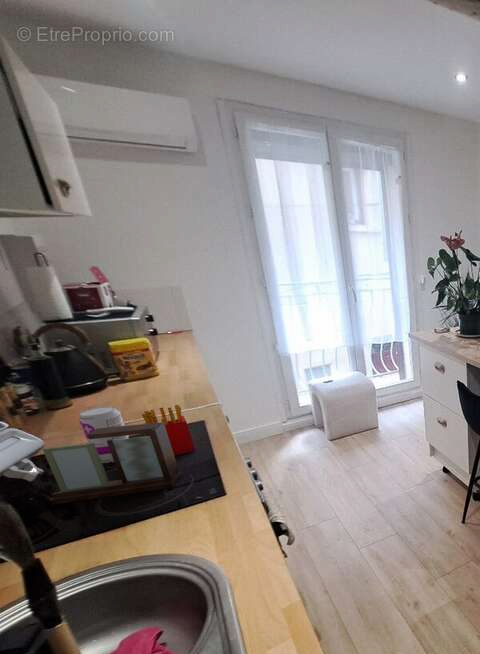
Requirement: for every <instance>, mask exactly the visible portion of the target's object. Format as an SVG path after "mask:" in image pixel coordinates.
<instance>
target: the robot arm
mask: <svg viewBox="0 0 480 654" xmlns="http://www.w3.org/2000/svg"><path fill="white" fill-rule="evenodd" d="M45 446H46V443H45V442H44V440H42V439H41V438H39V437H37V436H35V435H32V434H30V433H28V432H26V431H23V430H22V429H21V430H20V429H18V428H15V427H14V428H12V427H9V424H8V423H6V422H4V421H0V477H2V476H4V477H6V478H11V479H12V478H13V479H22V480H26V481H28V482H33V481H34V480H36V479H37V478H39V477H40V476H41V475H42V474H43V473H44V470H43V469H42V468H39V467H37V466H36V465H35V464H34V462H33V461H32V460H30V459H31V458H32V457H35V456H36V455H37V454H39V453H40V452H41V450H43V449H44V448H45Z"/></svg>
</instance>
